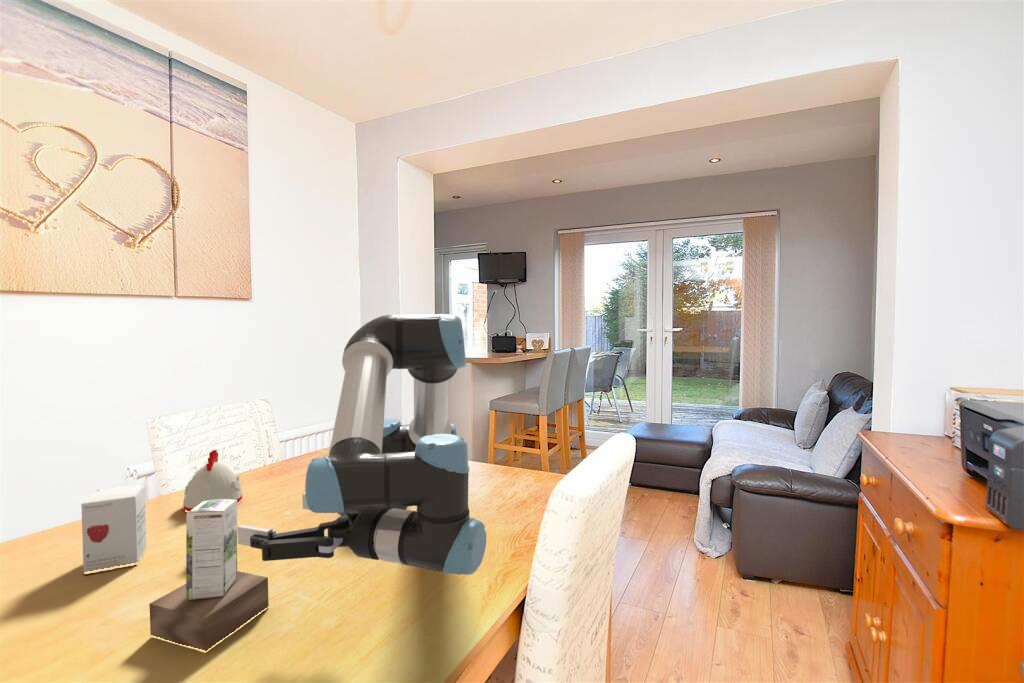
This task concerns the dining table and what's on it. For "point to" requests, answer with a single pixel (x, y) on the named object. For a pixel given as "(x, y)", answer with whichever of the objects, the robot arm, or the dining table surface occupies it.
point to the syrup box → (211, 548)
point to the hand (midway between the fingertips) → (274, 516)
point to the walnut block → (208, 612)
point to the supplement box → (113, 527)
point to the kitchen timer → (212, 484)
